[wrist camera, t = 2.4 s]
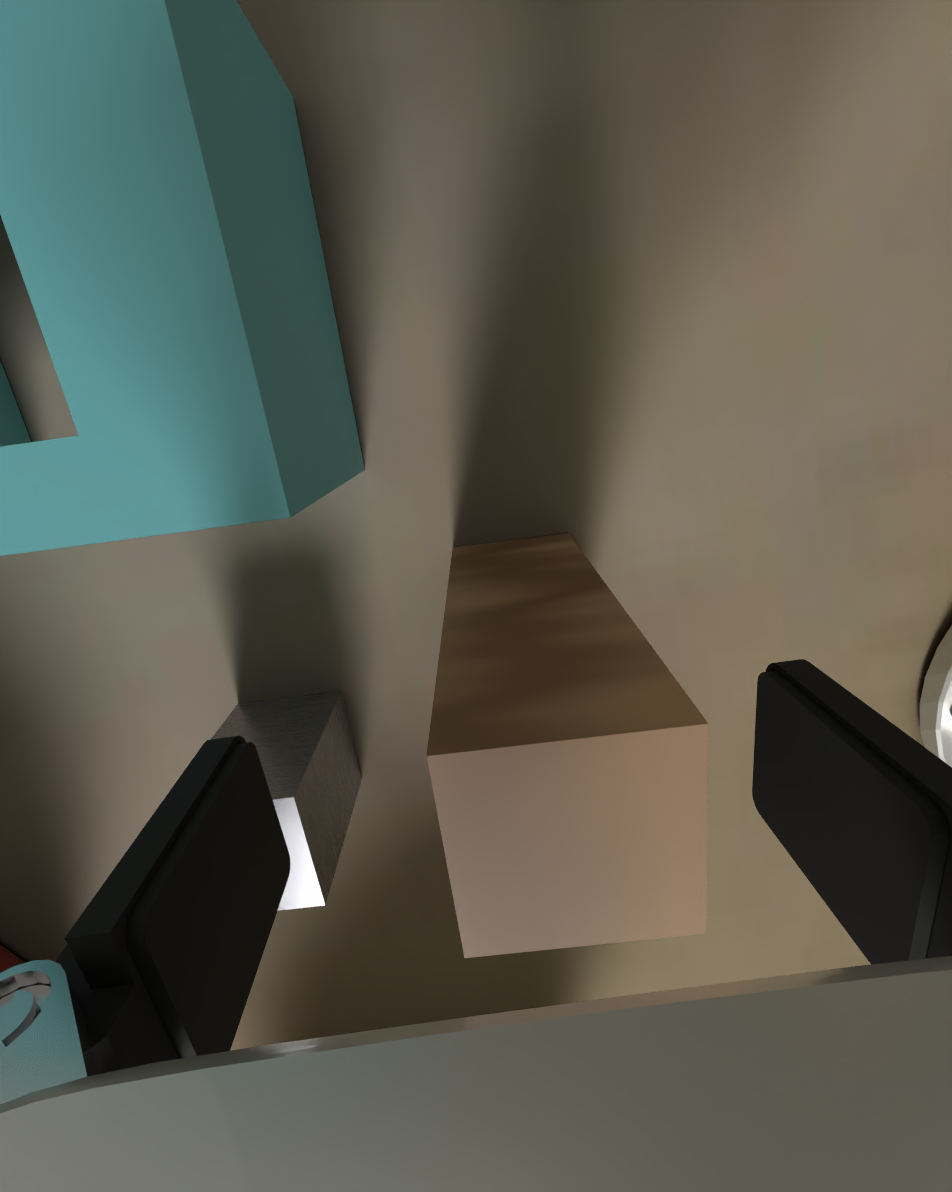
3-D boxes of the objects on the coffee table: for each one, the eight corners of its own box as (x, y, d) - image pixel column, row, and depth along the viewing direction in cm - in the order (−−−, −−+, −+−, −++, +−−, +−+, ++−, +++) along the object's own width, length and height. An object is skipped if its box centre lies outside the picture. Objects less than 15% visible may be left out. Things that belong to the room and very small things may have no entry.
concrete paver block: (341, 691, 21) (294, 797, 15) (361, 778, 22) (325, 905, 17) (238, 703, 21) (154, 812, 16) (264, 789, 23) (196, 919, 17)
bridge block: (292, 96, 15) (113, -210, 8) (364, 469, 18) (290, 517, 11) (-164, 169, 16) (-765, -50, 8) (-14, 520, 19) (-339, 600, 11)
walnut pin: (567, 532, 19) (708, 723, 8) (576, 638, 20) (705, 933, 9) (452, 547, 19) (426, 756, 8) (468, 651, 21) (464, 958, 9)
